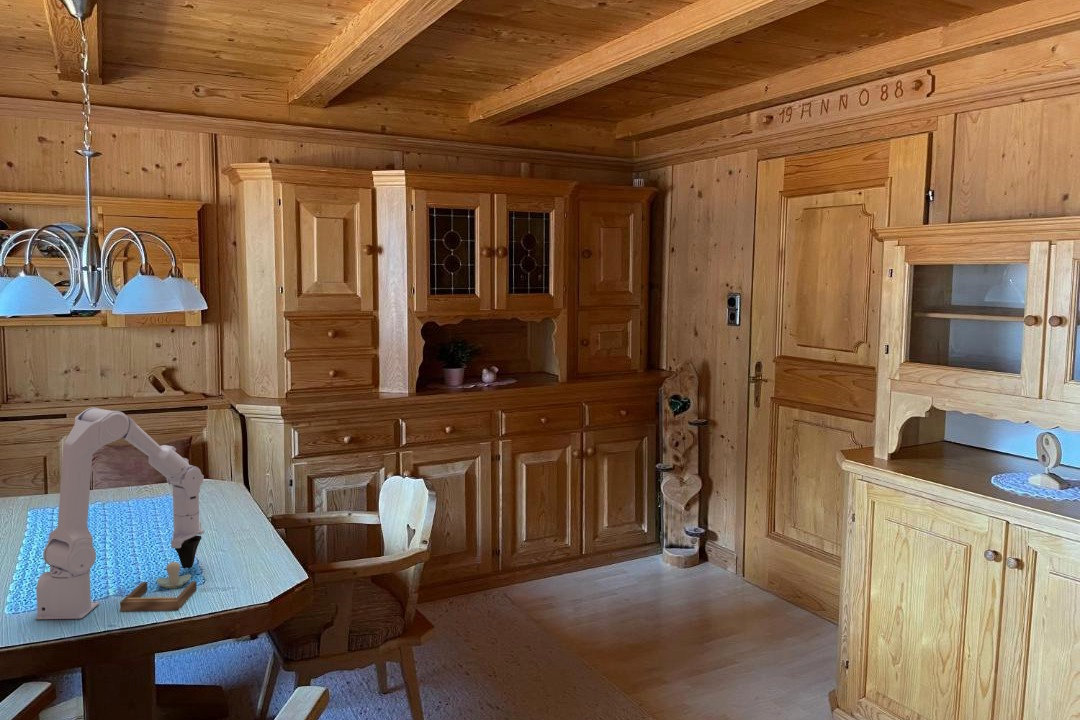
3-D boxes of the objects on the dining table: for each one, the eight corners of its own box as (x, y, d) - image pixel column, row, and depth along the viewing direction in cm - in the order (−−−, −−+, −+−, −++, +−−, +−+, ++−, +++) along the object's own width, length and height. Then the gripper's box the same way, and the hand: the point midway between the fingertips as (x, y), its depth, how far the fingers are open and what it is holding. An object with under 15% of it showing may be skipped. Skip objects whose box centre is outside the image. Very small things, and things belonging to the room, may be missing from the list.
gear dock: (120, 611, 169) (120, 600, 169) (142, 590, 181) (142, 580, 181) (178, 610, 170) (177, 599, 170) (196, 589, 182) (196, 580, 182)
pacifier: (156, 584, 185) (156, 592, 180) (155, 558, 185) (155, 566, 180) (190, 579, 189) (191, 587, 183) (189, 554, 188) (190, 561, 183)
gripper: (192, 521, 184) (194, 578, 186) (213, 504, 199) (214, 556, 200) (161, 522, 184) (163, 578, 185) (184, 504, 198) (185, 557, 199)
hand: (187, 567), depth 193 cm, fingers closed
